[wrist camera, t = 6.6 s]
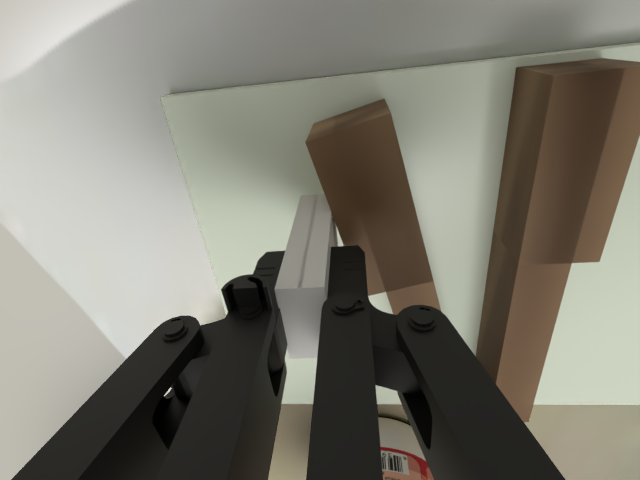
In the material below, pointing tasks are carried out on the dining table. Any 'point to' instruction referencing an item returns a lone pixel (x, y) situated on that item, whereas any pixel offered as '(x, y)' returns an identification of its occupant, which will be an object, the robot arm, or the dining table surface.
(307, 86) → the board
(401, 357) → the robot arm
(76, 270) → the dining table surface
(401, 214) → the arm
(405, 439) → the fruit juice
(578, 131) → the tongs fixed
